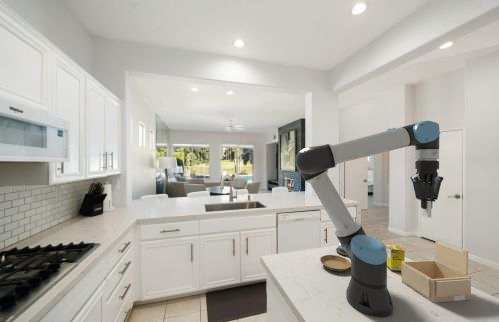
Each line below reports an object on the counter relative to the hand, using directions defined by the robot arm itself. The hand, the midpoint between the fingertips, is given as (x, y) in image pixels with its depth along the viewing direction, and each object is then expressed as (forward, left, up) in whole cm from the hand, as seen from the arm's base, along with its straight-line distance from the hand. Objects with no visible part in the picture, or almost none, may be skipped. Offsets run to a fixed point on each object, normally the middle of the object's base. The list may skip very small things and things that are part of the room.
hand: (426, 216), depth 85 cm
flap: (+10, -1, -21) cm, 23 cm away
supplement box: (0, +17, -31) cm, 35 cm away
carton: (+2, -1, -31) cm, 31 cm away
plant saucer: (-28, +23, -31) cm, 48 cm away
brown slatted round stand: (-12, +38, -31) cm, 51 cm away
